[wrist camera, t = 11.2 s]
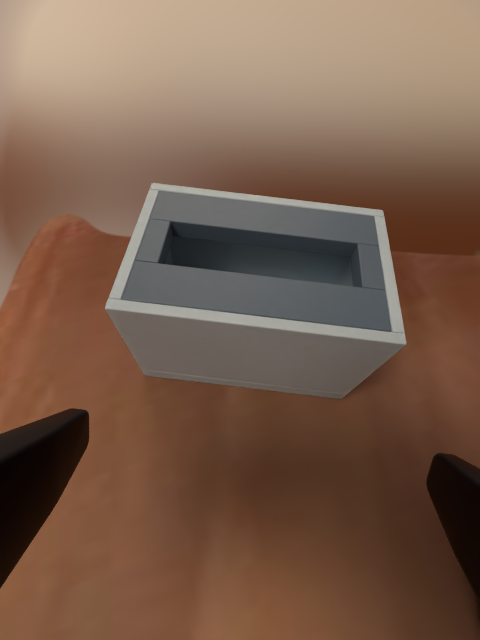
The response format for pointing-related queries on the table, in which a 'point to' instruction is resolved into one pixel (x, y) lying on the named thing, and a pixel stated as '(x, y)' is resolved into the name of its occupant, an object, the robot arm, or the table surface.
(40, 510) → the robot arm
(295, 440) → the table surface
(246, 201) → the grey hollow block
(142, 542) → the table surface
